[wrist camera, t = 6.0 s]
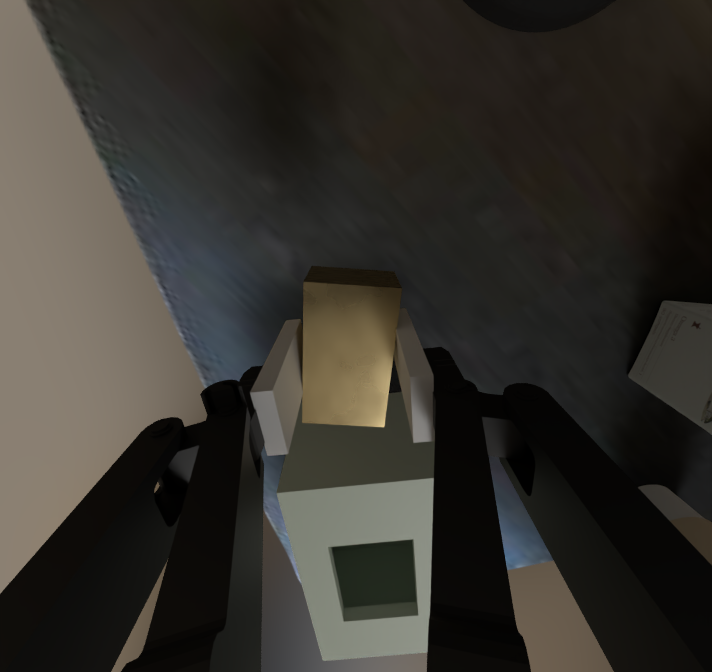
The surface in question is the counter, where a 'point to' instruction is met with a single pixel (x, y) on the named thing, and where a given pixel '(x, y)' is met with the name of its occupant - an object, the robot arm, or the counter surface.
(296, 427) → the grey box with slot
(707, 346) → the supplement box
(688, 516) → the coffee cup
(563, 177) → the counter surface
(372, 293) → the tan wooden block
